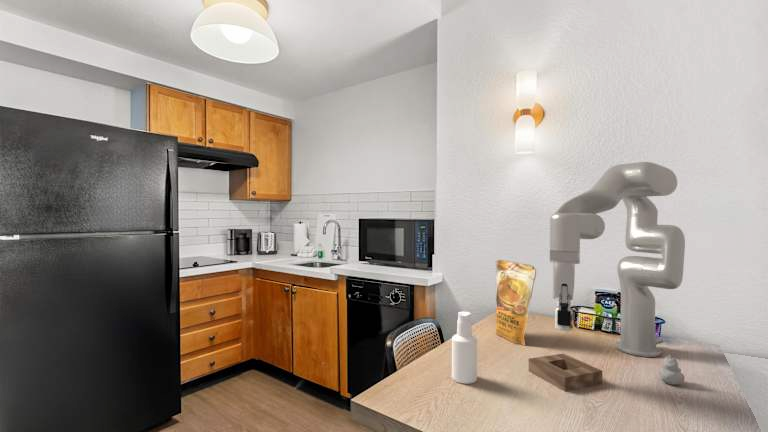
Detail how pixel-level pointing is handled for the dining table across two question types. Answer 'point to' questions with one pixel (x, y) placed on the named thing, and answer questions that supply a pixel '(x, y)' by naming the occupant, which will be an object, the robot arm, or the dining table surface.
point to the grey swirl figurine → (671, 372)
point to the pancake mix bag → (513, 299)
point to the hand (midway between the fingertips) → (563, 322)
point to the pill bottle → (560, 327)
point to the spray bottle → (464, 351)
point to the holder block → (565, 371)
